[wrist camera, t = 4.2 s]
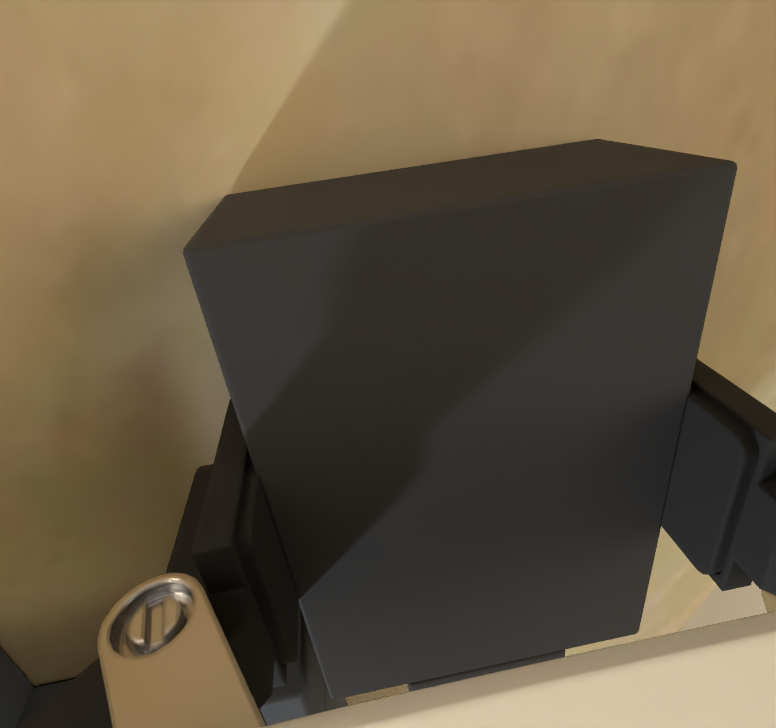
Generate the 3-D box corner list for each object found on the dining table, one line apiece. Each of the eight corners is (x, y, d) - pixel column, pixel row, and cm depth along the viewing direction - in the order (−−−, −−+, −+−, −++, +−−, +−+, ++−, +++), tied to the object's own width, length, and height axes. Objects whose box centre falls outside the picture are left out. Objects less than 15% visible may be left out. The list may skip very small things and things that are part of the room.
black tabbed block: (222, 195, 9) (178, 248, 6) (600, 138, 9) (742, 160, 6) (342, 628, 15) (350, 763, 12) (563, 581, 16) (625, 701, 13)
